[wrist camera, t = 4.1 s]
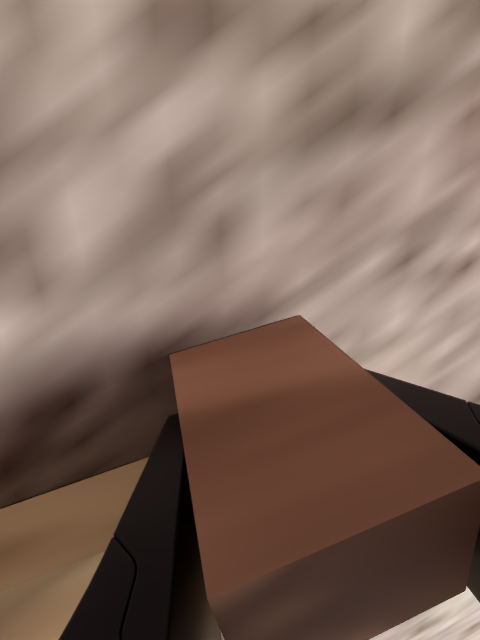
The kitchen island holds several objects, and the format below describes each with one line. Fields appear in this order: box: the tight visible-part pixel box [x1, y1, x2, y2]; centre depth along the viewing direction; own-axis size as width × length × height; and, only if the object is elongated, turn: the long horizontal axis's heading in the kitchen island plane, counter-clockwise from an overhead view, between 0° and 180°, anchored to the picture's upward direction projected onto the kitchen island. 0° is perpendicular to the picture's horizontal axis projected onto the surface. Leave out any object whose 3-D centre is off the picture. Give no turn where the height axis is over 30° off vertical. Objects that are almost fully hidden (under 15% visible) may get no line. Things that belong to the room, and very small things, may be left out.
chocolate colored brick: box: [169, 315, 480, 640], centre depth 9 cm, size 9×4×6 cm, turn 11°
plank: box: [0, 457, 149, 640], centre depth 10 cm, size 5×20×2 cm, turn 101°
